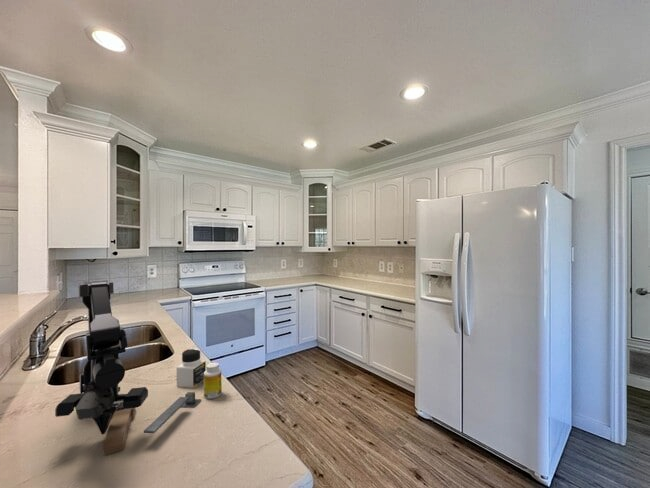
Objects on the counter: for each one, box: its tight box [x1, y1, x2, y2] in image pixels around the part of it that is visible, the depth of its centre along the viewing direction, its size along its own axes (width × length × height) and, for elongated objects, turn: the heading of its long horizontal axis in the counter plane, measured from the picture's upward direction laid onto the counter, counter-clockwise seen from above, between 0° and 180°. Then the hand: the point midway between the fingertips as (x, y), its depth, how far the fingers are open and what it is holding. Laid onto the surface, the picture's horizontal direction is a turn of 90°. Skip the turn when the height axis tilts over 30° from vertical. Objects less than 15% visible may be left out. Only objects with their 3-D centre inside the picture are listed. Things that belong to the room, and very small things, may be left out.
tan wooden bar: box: [102, 408, 136, 456], centre depth 77 cm, size 20×5×3 cm, turn 29°
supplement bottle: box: [203, 362, 223, 400], centre depth 95 cm, size 6×6×10 cm
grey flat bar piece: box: [143, 391, 202, 434], centre depth 81 cm, size 5×21×4 cm, turn 176°
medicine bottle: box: [176, 347, 207, 389], centre depth 103 cm, size 7×7×12 cm
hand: (104, 433), depth 73 cm, fingers closed
